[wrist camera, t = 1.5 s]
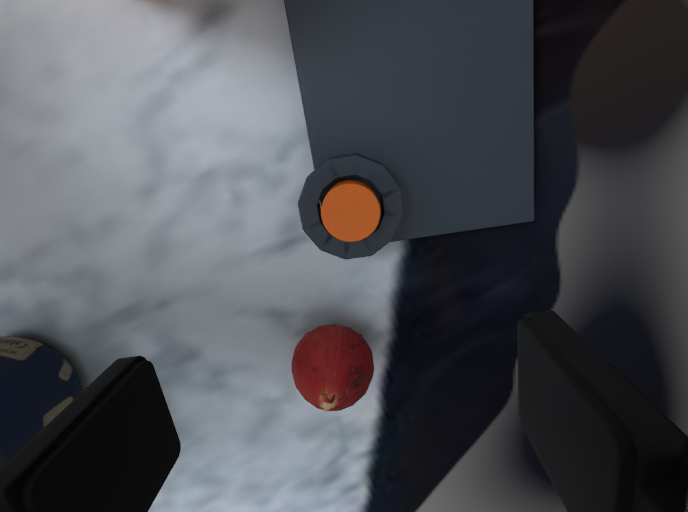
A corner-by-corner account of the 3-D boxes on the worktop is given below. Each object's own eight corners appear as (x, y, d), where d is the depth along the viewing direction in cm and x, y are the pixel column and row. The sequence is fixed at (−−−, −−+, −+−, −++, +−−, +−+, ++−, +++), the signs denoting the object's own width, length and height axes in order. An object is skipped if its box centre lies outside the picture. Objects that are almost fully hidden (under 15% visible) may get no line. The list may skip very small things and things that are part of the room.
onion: (366, 302, 30) (371, 361, 23) (374, 365, 32) (382, 439, 24) (293, 311, 31) (273, 372, 23) (305, 372, 32) (291, 448, 25)
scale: (314, 248, 29) (309, 264, 26) (266, -1, 24) (252, -21, 20) (522, 218, 28) (545, 230, 24) (519, -49, 23) (547, -79, 19)
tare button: (327, 239, 25) (326, 246, 24) (318, 184, 24) (315, 188, 23) (382, 231, 25) (384, 237, 24) (375, 175, 24) (376, 178, 22)
